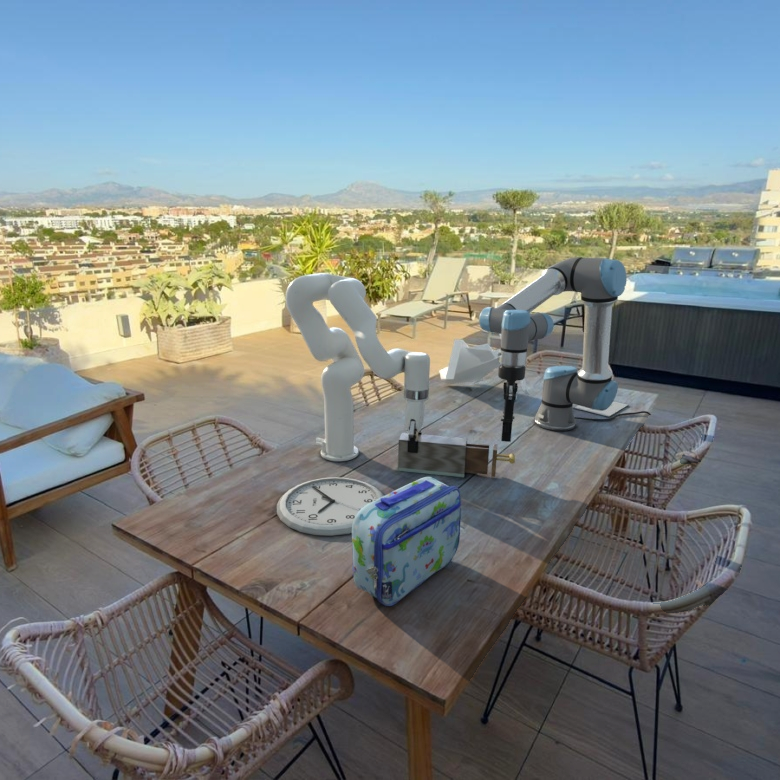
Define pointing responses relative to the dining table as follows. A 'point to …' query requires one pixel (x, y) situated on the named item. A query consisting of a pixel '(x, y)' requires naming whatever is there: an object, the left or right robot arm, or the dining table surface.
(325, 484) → the wall clock
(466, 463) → the drawer
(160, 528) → the dining table surface
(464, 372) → the white plastic object
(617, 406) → the invitation card
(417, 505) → the lunch box
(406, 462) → the cabinet
